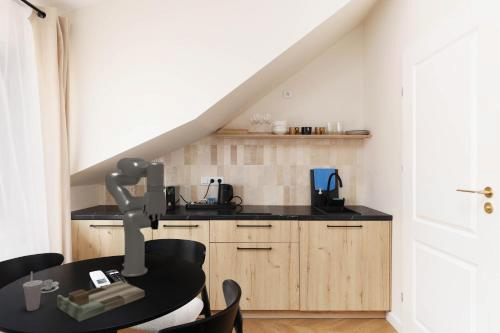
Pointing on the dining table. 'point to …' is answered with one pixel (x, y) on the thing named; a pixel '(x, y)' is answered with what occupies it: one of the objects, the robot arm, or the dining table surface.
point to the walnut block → (79, 297)
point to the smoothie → (32, 293)
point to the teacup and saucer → (50, 285)
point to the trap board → (101, 300)
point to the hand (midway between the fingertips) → (154, 229)
